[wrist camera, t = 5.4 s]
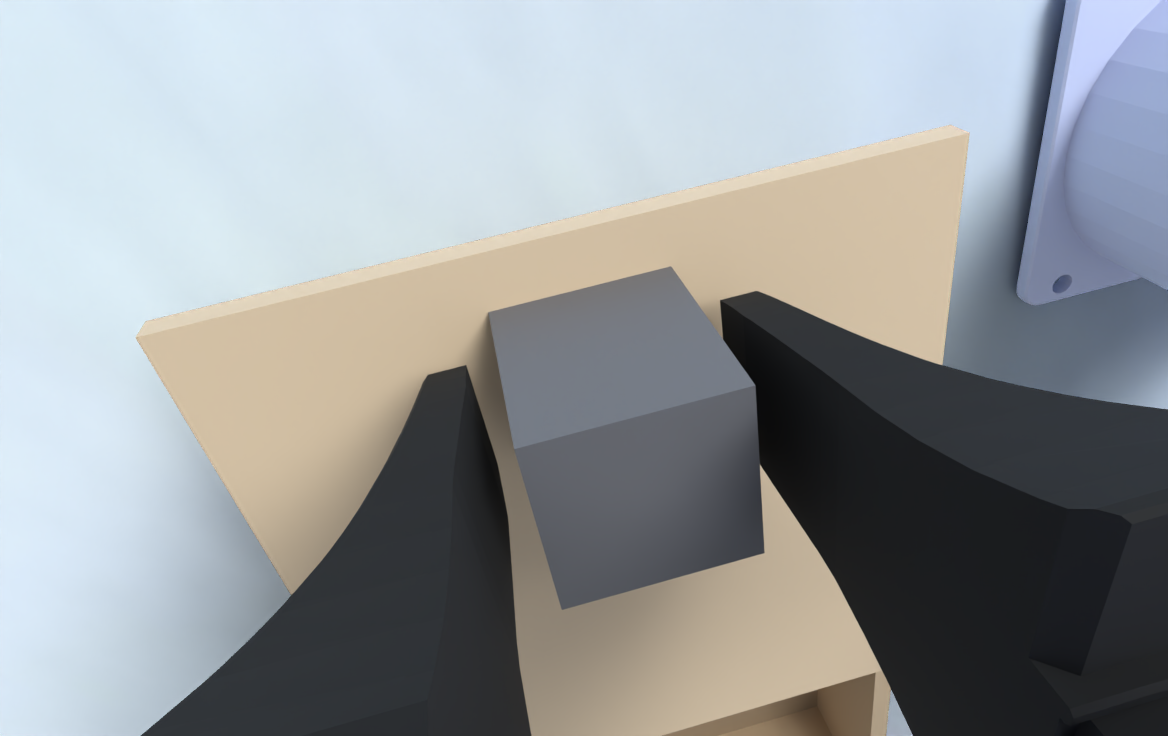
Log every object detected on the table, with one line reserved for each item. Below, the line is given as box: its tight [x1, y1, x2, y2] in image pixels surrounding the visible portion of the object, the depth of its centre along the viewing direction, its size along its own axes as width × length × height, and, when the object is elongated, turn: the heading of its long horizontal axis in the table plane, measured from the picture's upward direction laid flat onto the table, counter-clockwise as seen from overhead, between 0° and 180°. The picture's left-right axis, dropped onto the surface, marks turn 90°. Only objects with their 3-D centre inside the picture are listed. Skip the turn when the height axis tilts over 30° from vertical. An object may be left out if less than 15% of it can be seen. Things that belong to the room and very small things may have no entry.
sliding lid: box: [136, 125, 969, 736], centre depth 14 cm, size 13×14×4 cm
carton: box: [662, 671, 891, 736], centre depth 22 cm, size 13×14×4 cm
